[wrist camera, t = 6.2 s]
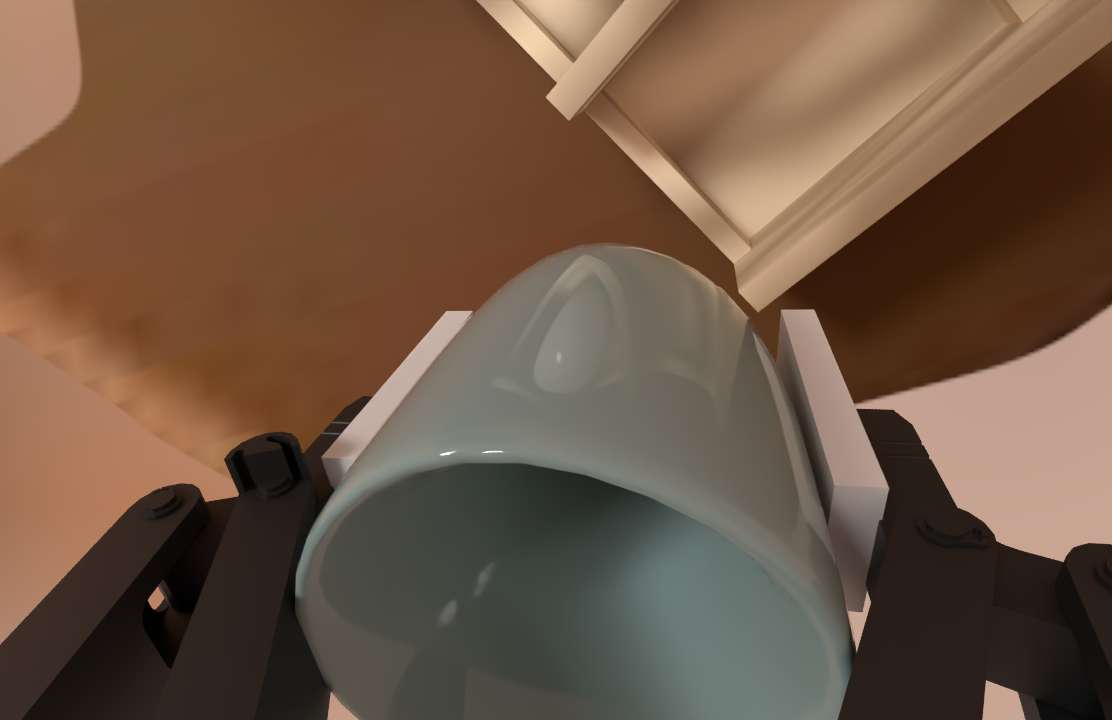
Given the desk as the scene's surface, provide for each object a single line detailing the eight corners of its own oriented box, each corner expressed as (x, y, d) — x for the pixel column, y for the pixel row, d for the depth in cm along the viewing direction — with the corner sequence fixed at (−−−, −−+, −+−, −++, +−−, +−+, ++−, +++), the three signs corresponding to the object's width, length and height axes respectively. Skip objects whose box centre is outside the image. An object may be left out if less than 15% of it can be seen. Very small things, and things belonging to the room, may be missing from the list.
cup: (659, 497, 19) (631, 879, 11) (446, 371, 18) (231, 673, 10) (835, 313, 15) (1019, 686, 7) (573, 144, 14) (400, 318, 6)
